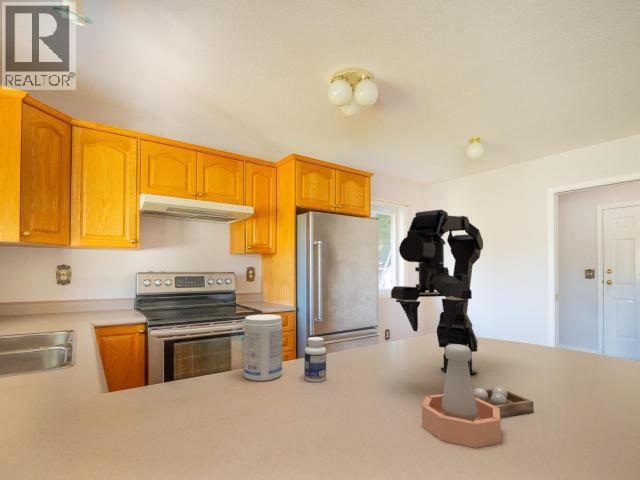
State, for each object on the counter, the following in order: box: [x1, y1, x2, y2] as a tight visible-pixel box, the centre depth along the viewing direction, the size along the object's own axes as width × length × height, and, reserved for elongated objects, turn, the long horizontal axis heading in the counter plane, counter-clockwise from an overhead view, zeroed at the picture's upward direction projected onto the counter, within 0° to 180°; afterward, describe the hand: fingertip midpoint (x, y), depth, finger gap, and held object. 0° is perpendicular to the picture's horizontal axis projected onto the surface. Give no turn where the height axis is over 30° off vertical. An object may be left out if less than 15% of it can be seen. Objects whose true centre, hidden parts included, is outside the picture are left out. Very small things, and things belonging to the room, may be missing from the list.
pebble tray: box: [484, 387, 535, 419], centre depth 67 cm, size 10×8×2 cm
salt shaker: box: [442, 344, 478, 421], centre depth 59 cm, size 6×6×13 cm
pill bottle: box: [303, 336, 327, 383], centre depth 83 cm, size 5×5×10 cm
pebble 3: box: [491, 393, 507, 406], centre depth 65 cm, size 3×3×3 cm
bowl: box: [421, 393, 502, 449], centre depth 58 cm, size 12×12×4 cm
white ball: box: [492, 386, 508, 399], centre depth 68 cm, size 3×3×3 cm
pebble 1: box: [473, 387, 488, 402], centre depth 68 cm, size 3×3×3 cm
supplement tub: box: [243, 314, 283, 382], centre depth 85 cm, size 10×10×15 cm
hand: (432, 330), depth 78 cm, fingers open, 9 cm apart
